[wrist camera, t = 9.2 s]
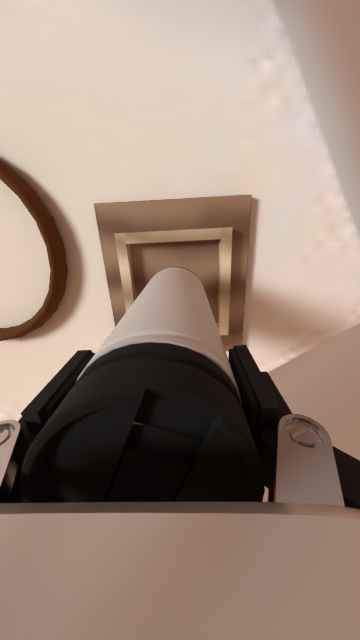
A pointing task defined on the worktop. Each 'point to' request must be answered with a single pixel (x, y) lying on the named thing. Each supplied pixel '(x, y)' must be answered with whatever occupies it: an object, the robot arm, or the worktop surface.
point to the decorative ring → (53, 249)
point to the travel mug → (150, 413)
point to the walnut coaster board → (179, 251)
